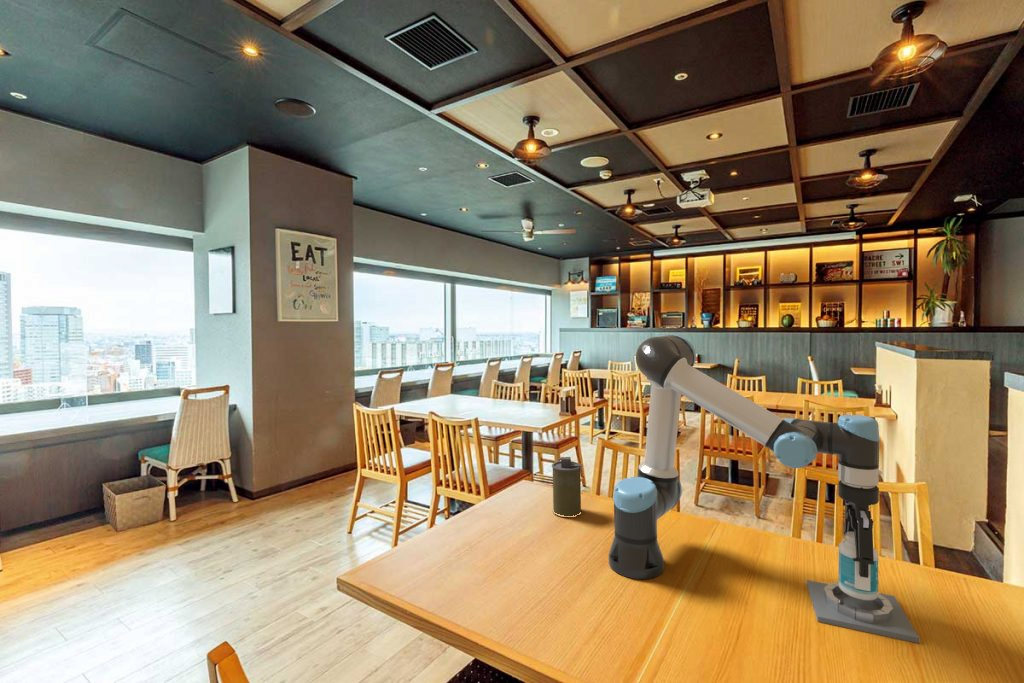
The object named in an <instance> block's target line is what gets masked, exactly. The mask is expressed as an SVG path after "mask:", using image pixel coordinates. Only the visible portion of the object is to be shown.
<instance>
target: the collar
mask: <svg viewBox="0 0 1024 683" xmlns="http://www.w3.org/2000/svg"><path fill="white" fill-rule="evenodd" d="M827 584H828V585H827V586H826V587H824V597H825V600H826V603H827V604H828V605H829V606H830V607H832V608H833V609H834V610H835V611H837V612H838V613H840V614H843V615H845V616H847V617H849V618H852V619H854V620H857V621H862V622H867V623H872V624H873V623H874V624H878V623H888V622H889V621H890V620H891V619H892V617H893V607H892V605H891V603H890V602H889V600H888V599H887V598H885V597H884V596H882V595H881V594H882V593H881V594H879V593H880V592H878V597H877V598H876V599H874V600H870V601H872V602H873V603H875V604H876V605H878V606H879V607H881V610H872V611H869V610H864V609H859V608H855V607H852V606H850V605H848V604H845V603H844V601H843V600H841V599H838V598H836V597H835V595H836V594H846V593H844V592H843V591H842V590H841V589H840V587H839V581H838V582H829V583H827Z"/></svg>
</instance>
